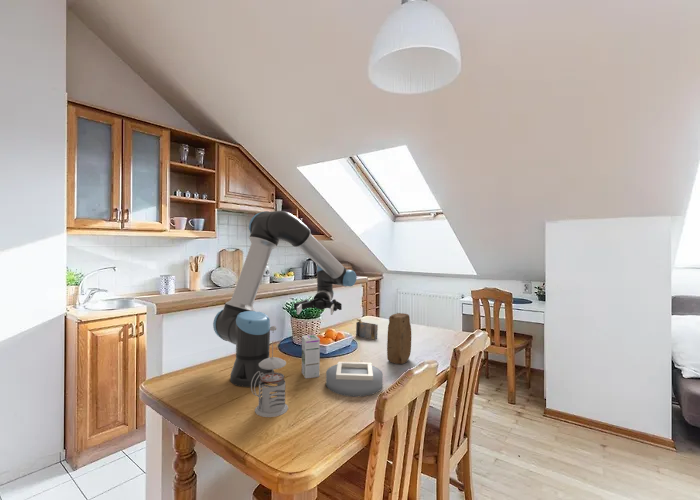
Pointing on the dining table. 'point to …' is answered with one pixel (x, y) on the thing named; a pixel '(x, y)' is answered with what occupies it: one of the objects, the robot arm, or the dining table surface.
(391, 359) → the block
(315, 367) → the syrup box
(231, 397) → the dining table surface
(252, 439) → the dining table surface
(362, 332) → the ruin model on sheet
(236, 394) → the dining table surface
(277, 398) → the french press
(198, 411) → the dining table surface
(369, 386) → the tower base
